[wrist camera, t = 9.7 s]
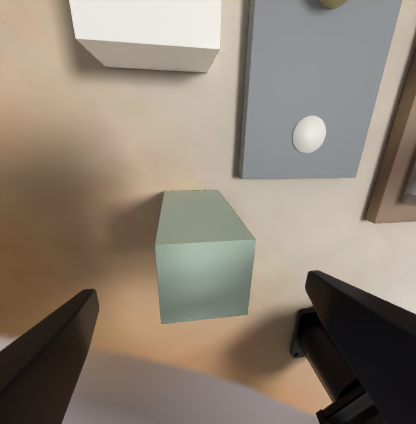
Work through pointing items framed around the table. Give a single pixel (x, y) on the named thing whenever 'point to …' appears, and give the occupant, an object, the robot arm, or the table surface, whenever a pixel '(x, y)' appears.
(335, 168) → the board
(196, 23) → the cover
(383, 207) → the build board
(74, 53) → the table surface
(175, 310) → the peg
